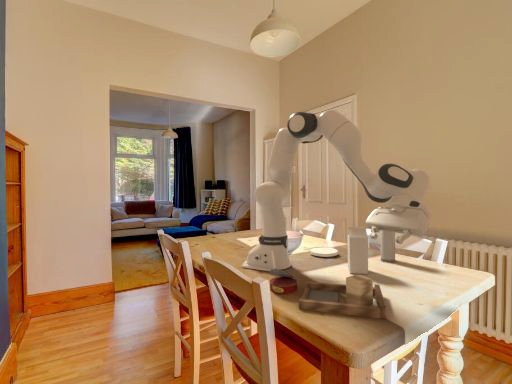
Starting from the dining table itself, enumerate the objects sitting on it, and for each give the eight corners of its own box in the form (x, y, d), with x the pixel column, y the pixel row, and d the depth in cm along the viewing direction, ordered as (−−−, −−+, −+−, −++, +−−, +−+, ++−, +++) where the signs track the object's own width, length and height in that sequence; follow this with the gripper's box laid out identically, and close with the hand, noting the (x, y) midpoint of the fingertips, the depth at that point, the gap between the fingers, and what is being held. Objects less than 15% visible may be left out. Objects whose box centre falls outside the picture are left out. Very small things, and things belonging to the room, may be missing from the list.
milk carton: (368, 274, 113) (367, 228, 112) (350, 273, 114) (349, 228, 114) (365, 269, 120) (364, 225, 119) (347, 268, 121) (347, 225, 121)
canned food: (269, 301, 101) (261, 274, 104) (294, 293, 104) (285, 267, 108) (280, 297, 91) (271, 267, 95) (306, 289, 95) (296, 260, 98)
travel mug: (377, 259, 134) (376, 218, 133) (388, 258, 135) (388, 217, 135) (386, 263, 128) (385, 220, 127) (398, 261, 129) (397, 219, 129)
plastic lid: (342, 257, 140) (342, 252, 140) (316, 259, 138) (316, 254, 138) (330, 251, 154) (330, 246, 154) (306, 253, 151) (306, 248, 151)
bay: (298, 308, 83) (298, 297, 83) (306, 288, 99) (306, 278, 99) (386, 319, 76) (385, 306, 76) (379, 295, 92) (379, 284, 92)
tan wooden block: (360, 309, 82) (360, 282, 82) (346, 302, 87) (346, 277, 87) (373, 305, 85) (372, 279, 85) (358, 298, 90) (358, 274, 89)
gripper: (372, 201, 104) (355, 230, 99) (428, 203, 86) (410, 238, 81) (380, 212, 106) (364, 241, 102) (436, 216, 88) (419, 251, 84)
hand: (385, 240), depth 91 cm, fingers open, 8 cm apart
